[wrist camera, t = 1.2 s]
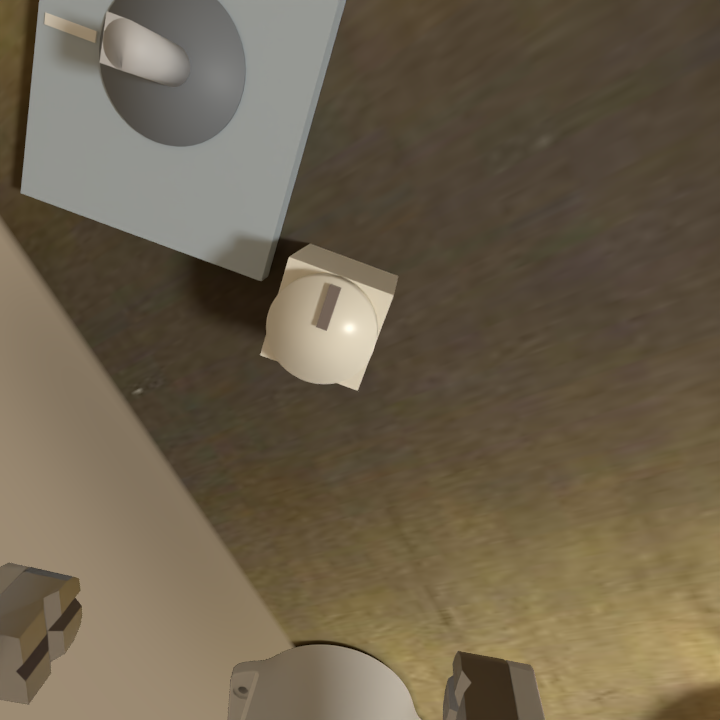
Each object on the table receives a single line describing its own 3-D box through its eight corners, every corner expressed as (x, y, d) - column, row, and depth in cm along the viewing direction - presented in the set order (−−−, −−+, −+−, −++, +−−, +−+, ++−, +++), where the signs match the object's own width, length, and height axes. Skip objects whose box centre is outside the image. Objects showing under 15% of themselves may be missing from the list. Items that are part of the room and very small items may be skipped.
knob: (367, 358, 36) (354, 401, 29) (284, 328, 35) (252, 363, 29) (398, 276, 33) (392, 301, 27) (310, 243, 33) (281, 261, 27)
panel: (268, 276, 34) (234, 299, 28) (38, 192, 34) (-47, 196, 28) (356, -38, 28) (337, -97, 22) (74, -143, 28) (-25, -233, 22)
